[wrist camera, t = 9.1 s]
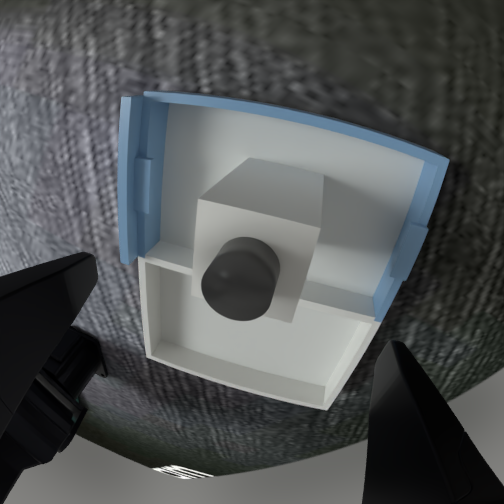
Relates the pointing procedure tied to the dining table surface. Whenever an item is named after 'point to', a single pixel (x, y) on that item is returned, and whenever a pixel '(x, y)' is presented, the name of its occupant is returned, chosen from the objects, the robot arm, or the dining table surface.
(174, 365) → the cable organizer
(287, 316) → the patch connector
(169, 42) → the dining table surface
